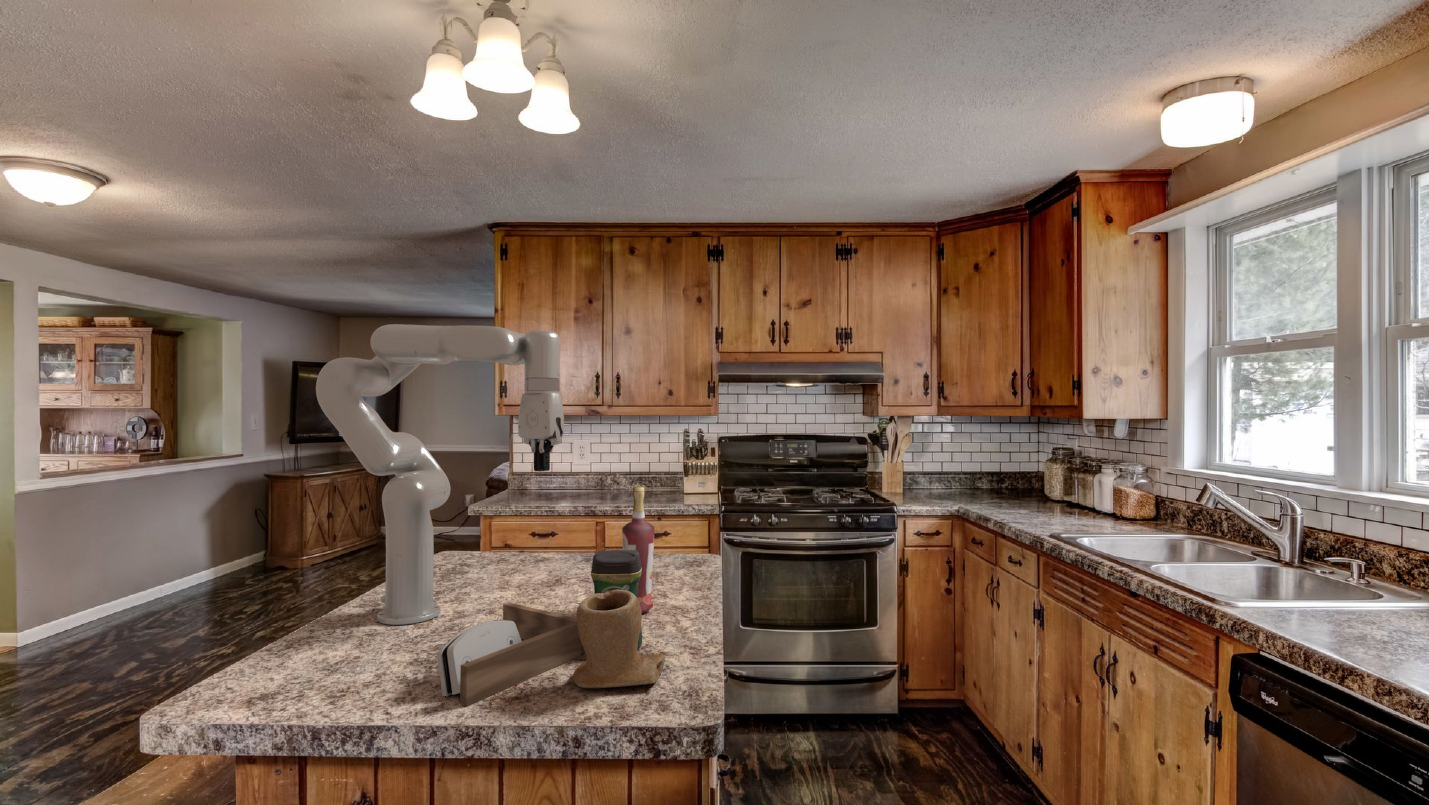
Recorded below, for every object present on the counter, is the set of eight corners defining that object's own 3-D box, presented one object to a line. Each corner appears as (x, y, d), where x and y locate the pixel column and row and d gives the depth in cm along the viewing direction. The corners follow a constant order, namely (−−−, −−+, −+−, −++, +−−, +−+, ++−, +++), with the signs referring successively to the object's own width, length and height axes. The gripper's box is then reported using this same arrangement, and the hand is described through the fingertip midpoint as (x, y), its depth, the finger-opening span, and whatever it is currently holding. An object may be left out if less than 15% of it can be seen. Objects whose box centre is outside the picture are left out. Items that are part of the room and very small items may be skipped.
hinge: (465, 702, 99) (449, 638, 100) (443, 707, 101) (428, 644, 102) (535, 663, 114) (520, 608, 116) (515, 668, 116) (500, 614, 118)
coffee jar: (643, 640, 126) (644, 546, 126) (640, 655, 118) (640, 554, 118) (594, 641, 126) (595, 546, 126) (587, 656, 118) (587, 555, 118)
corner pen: (385, 675, 109) (386, 640, 109) (508, 632, 131) (509, 602, 131) (466, 706, 97) (466, 667, 98) (586, 653, 119) (586, 620, 120)
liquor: (658, 614, 143) (658, 488, 143) (626, 618, 140) (627, 489, 141) (648, 605, 150) (649, 484, 150) (618, 608, 147) (618, 486, 147)
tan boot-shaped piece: (567, 701, 100) (567, 604, 100) (577, 670, 111) (578, 584, 112) (665, 698, 101) (665, 602, 101) (665, 668, 112) (665, 582, 113)
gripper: (505, 387, 142) (505, 470, 141) (553, 385, 134) (553, 473, 133) (532, 388, 148) (531, 468, 148) (579, 387, 140) (578, 471, 140)
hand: (541, 470), depth 141 cm, fingers closed
